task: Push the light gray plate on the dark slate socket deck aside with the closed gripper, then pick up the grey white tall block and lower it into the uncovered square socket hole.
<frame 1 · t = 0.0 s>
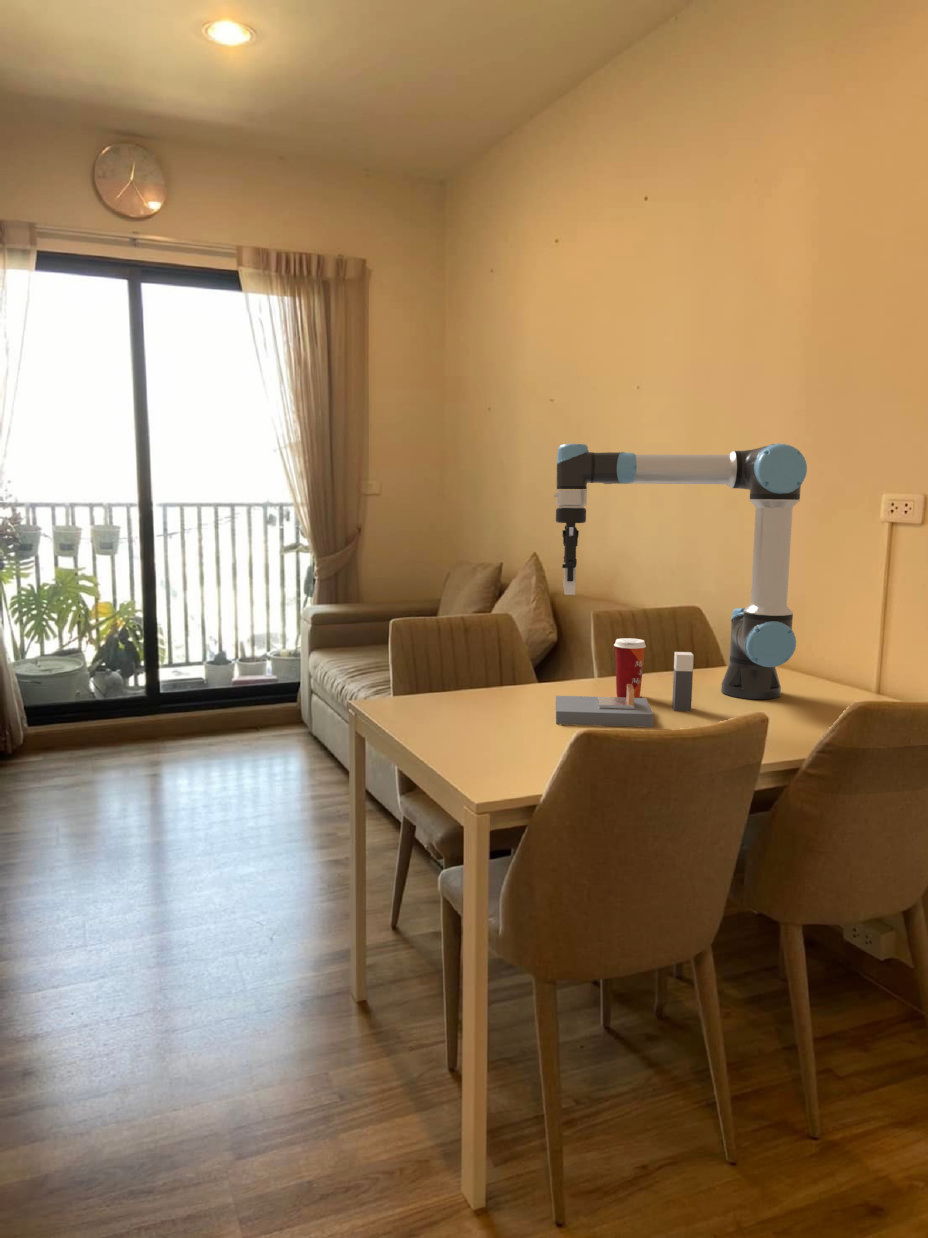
hand: (569, 591, 225), 28 cm above the table, fingers open, 13 cm apart
coffee cup: (628, 697, 233), on the table
deck: (602, 716, 212), on the table
grey white tall block: (681, 709, 220), on the table
light gray plate: (615, 695, 211), point 5 cm above the table, slide at 0.0 cm
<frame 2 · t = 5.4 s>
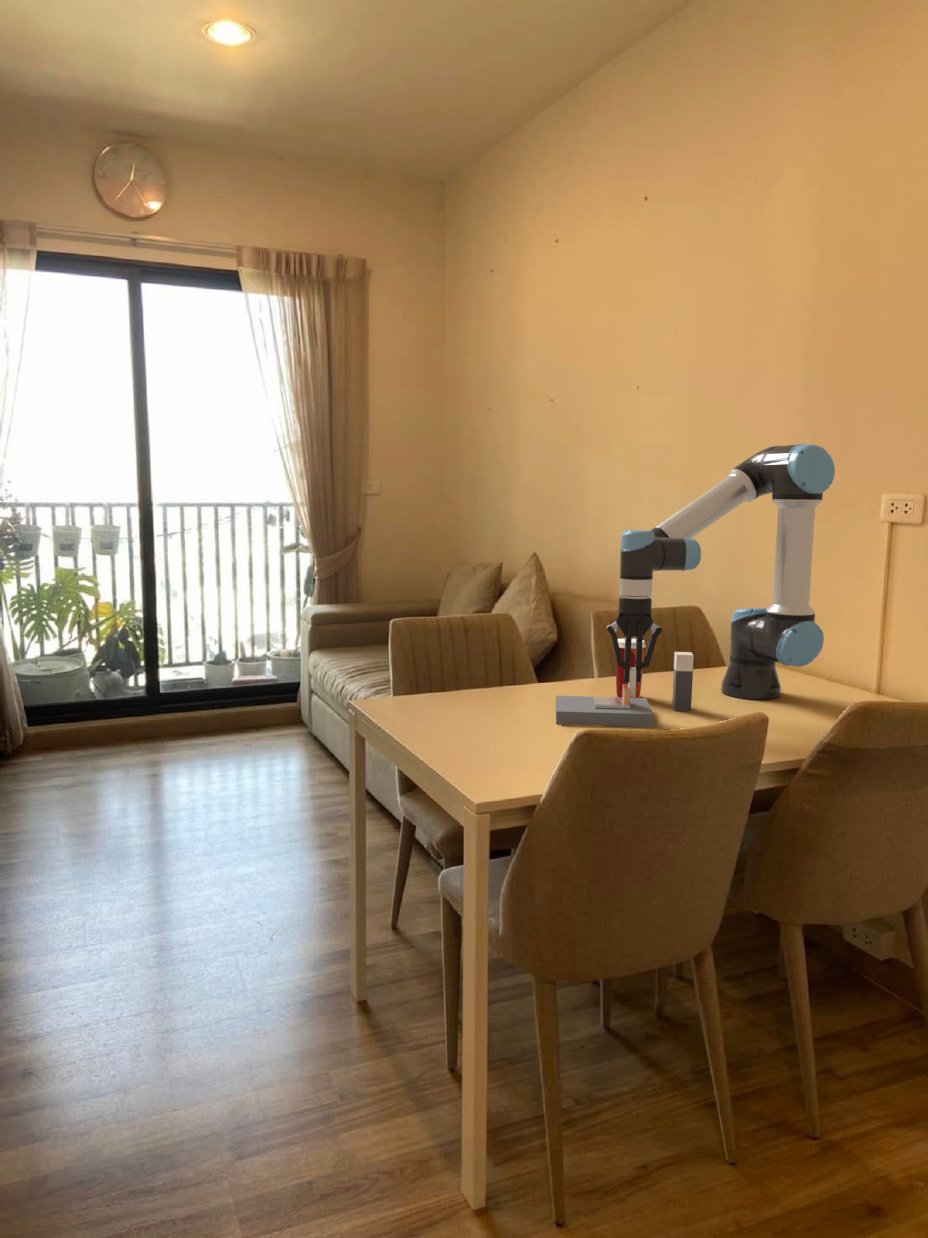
hand: (631, 695, 211), 5 cm above the table, fingers closed
light gray plate: (611, 695, 211), point 5 cm above the table, slide at 1.0 cm, touching gripper
everything else where it was.
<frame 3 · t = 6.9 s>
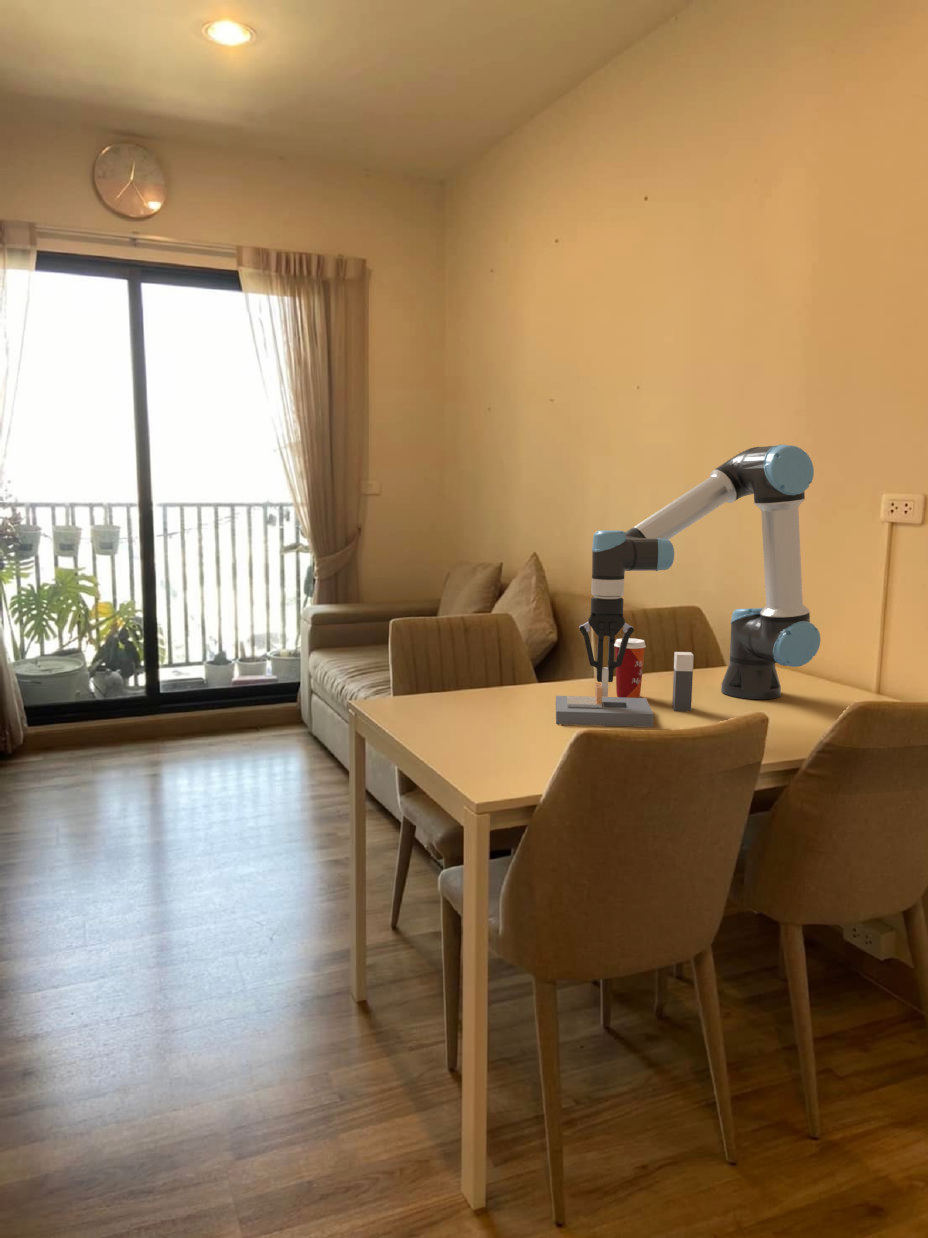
hand: (604, 695, 211), 5 cm above the table, fingers closed
light gray plate: (584, 694, 212), point 5 cm above the table, slide at 7.4 cm, touching gripper
everything else where it was.
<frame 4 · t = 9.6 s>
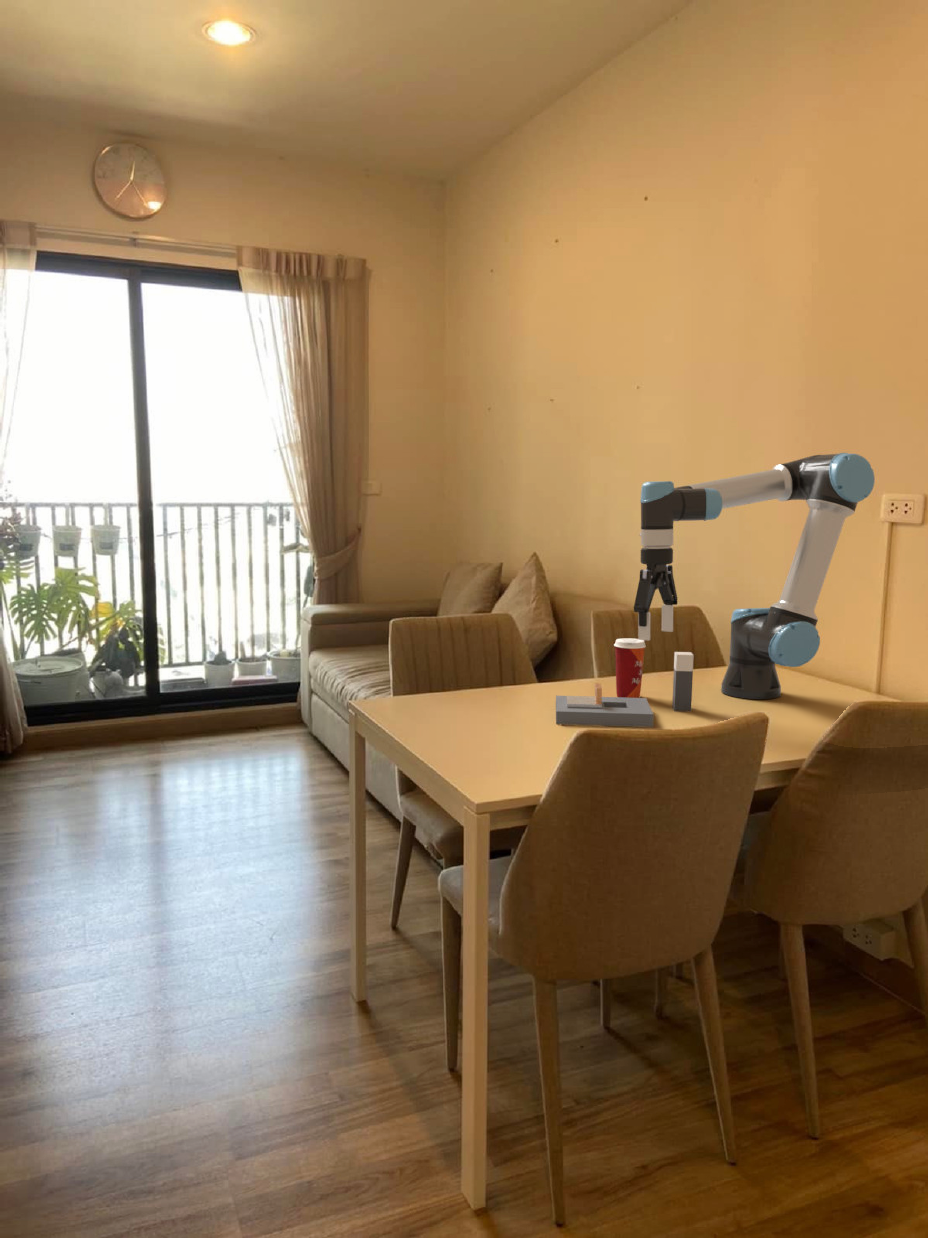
hand: (656, 635, 214), 19 cm above the table, fingers open, 13 cm apart
light gray plate: (583, 694, 212), point 5 cm above the table, slide at 7.5 cm
everything else where it was.
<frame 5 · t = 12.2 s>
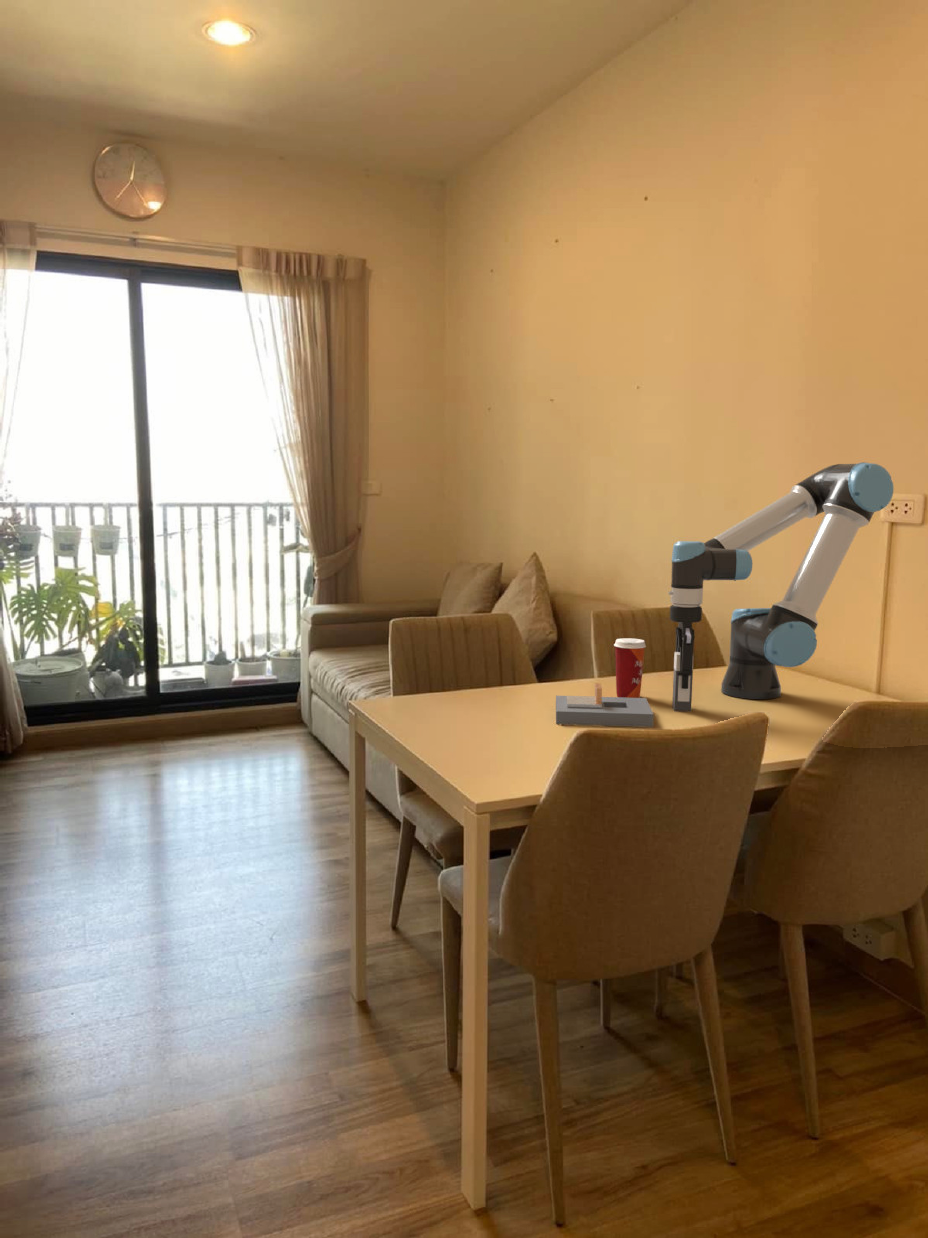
hand: (682, 698, 220), 3 cm above the table, fingers closed on grey white tall block, 4 cm apart
grey white tall block: (681, 709, 220), on the table, touching gripper
everything else where it was.
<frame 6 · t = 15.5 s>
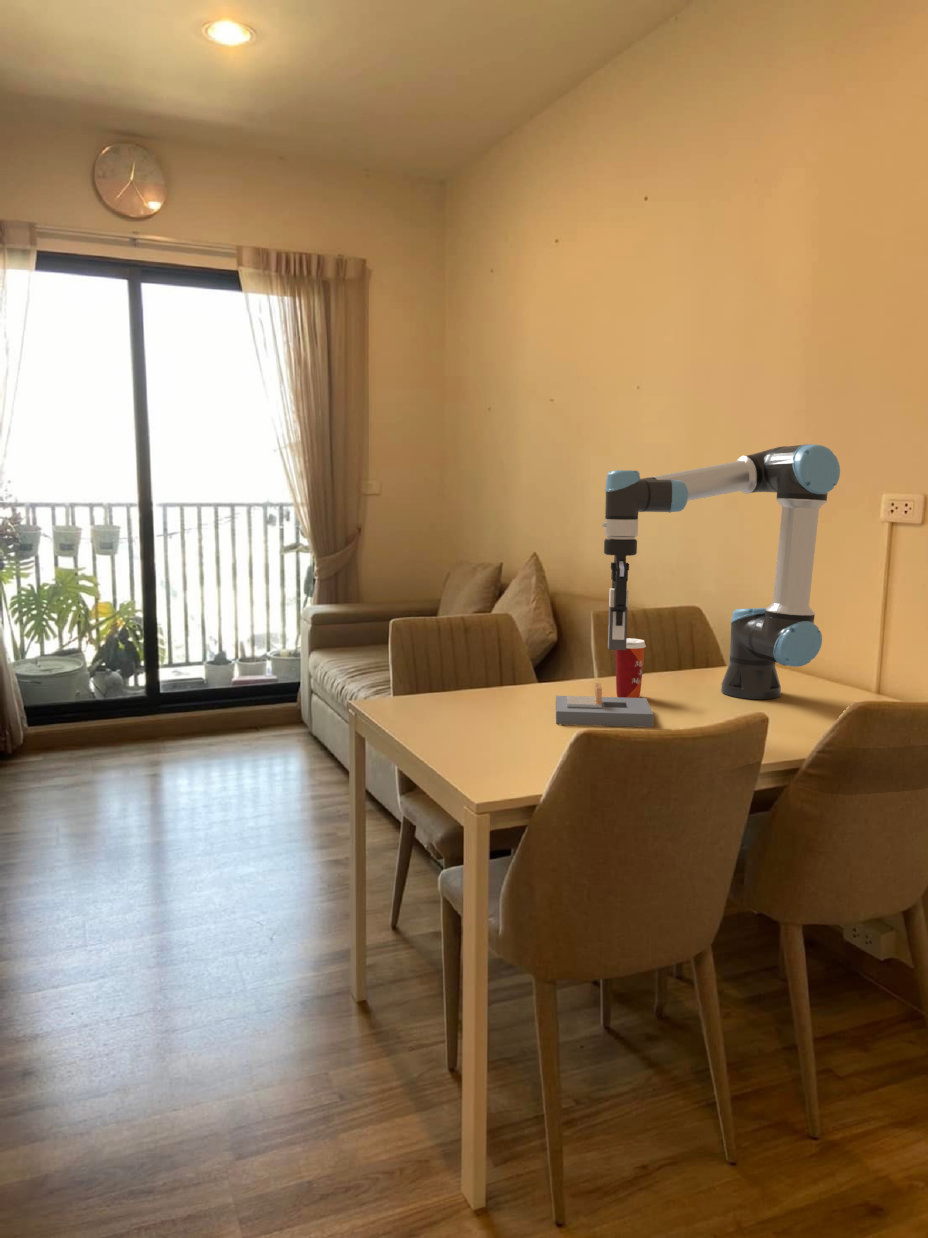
hand: (617, 637, 209), 19 cm above the table, fingers closed on grey white tall block, 4 cm apart
grey white tall block: (616, 648, 210), point 17 cm above the table, touching gripper
everything else where it was.
when the fingers open (4 cm above the table, at t = 18.9 s): grey white tall block drops 2 cm, resting in deck.
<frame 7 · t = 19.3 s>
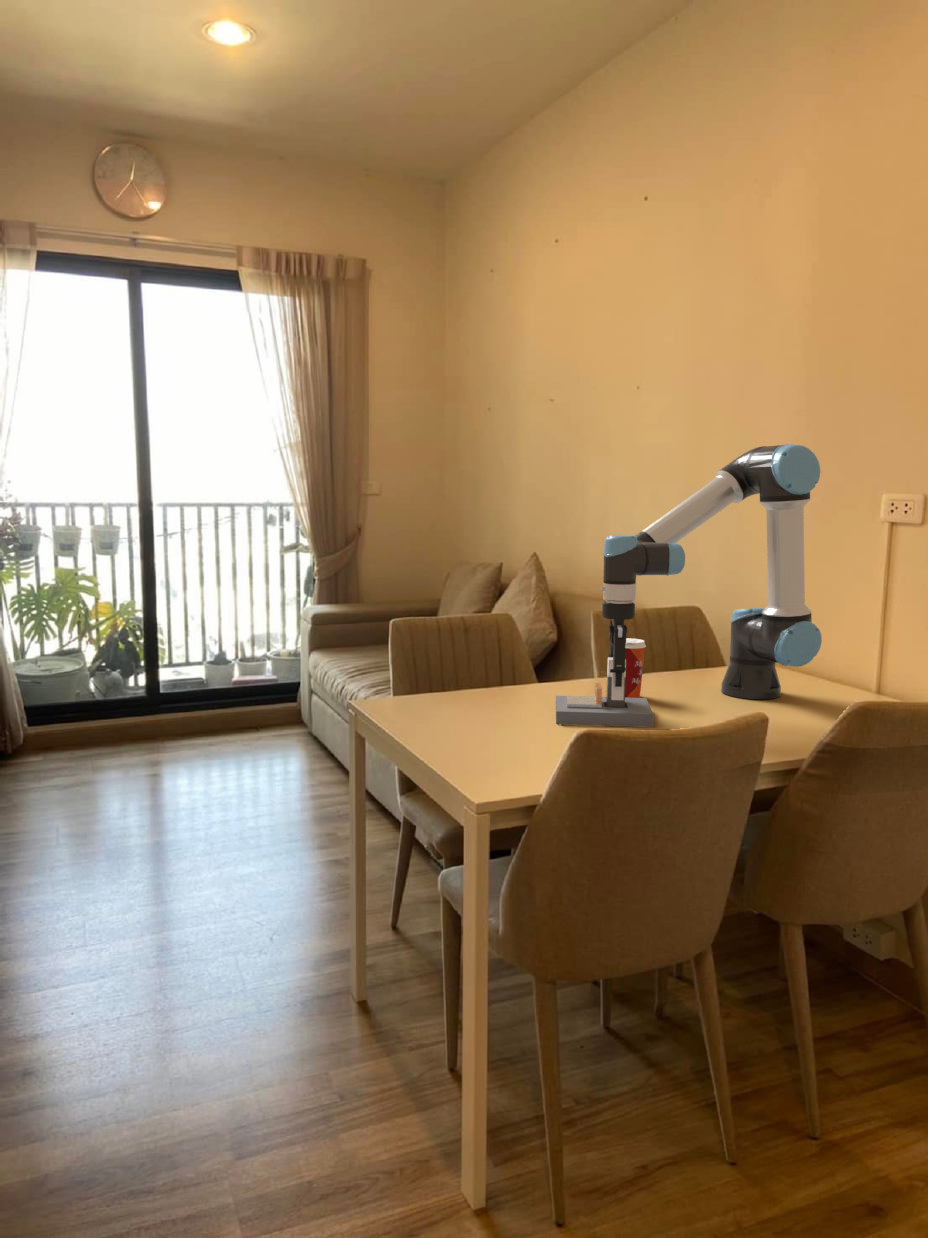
hand: (615, 694, 211), 5 cm above the table, fingers open, 10 cm apart
grey white tall block: (614, 716, 212), resting in deck
everything else where it was.
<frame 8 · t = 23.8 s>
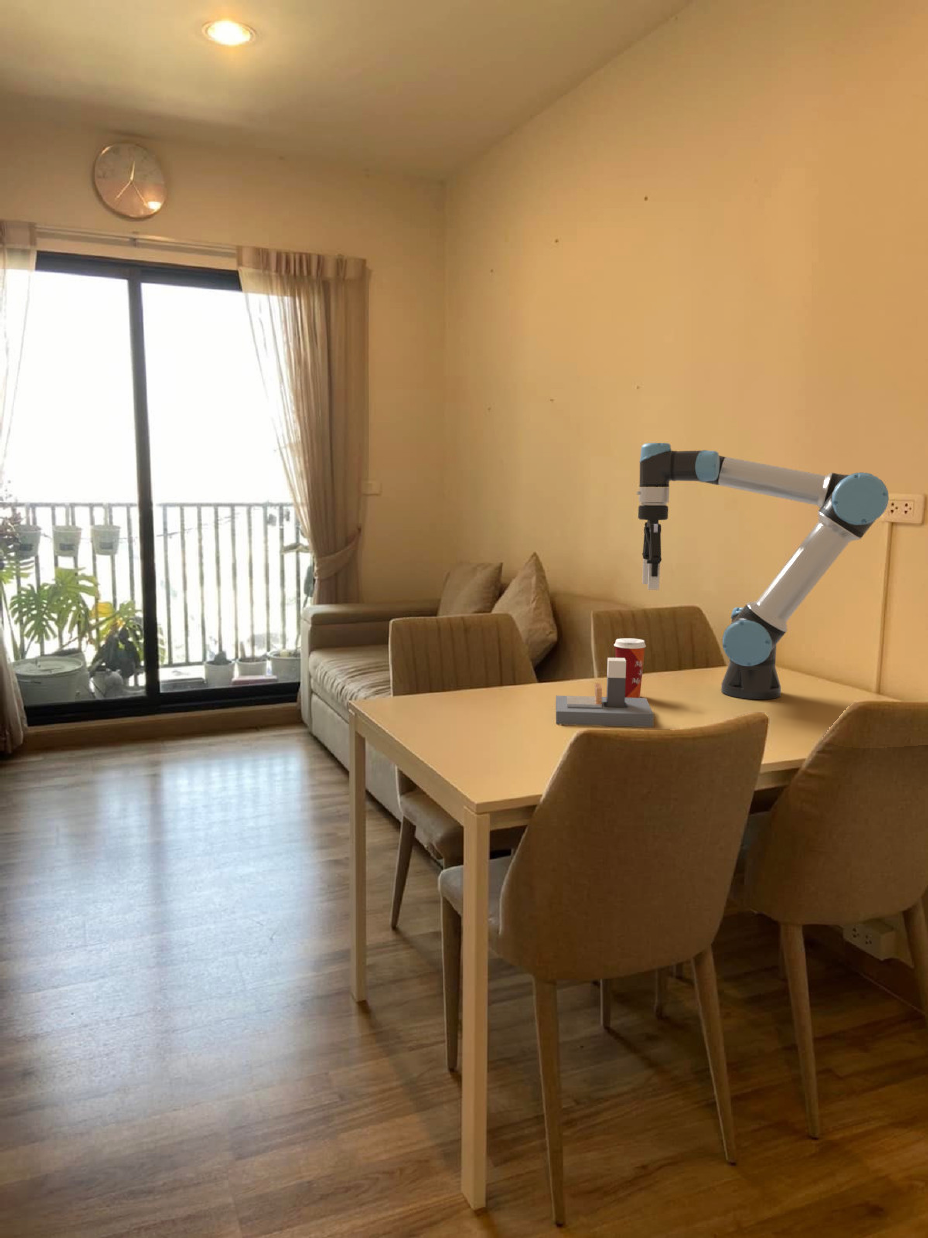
hand: (650, 586, 232), 29 cm above the table, fingers open, 13 cm apart
nothing on the table moved.
at the end: grey white tall block 0.0 cm from the target spot on the deck, point 0.0 cm above the deck's base; grey white tall block tilted 0°; light gray plate slide at 7.5 cm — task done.
